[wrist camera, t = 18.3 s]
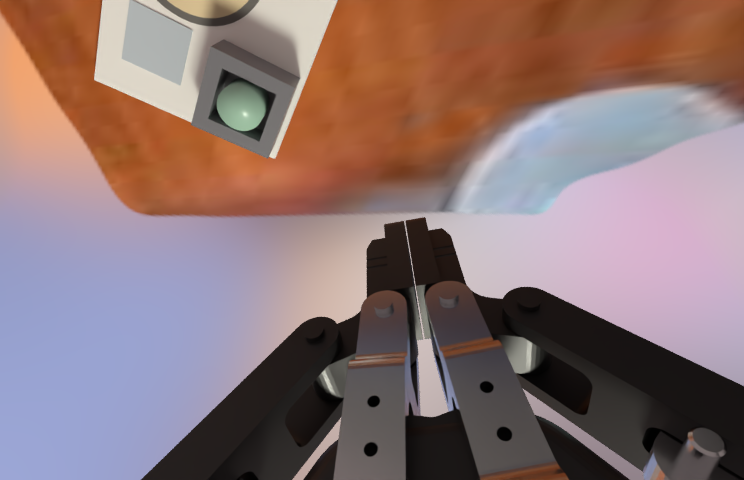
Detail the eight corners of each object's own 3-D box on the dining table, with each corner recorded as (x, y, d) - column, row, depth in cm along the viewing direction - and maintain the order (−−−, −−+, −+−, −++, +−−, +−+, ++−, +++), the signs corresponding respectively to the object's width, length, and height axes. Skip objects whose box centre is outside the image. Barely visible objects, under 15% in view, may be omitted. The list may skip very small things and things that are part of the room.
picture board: (130, -197, 26) (122, -203, 26) (358, -54, 31) (358, -54, 30) (100, 77, 36) (93, 80, 35) (276, 155, 41) (274, 159, 40)
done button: (232, 69, 34) (223, 76, 32) (275, 89, 35) (268, 98, 33) (221, 108, 36) (211, 118, 34) (261, 127, 37) (255, 138, 35)
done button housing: (223, 39, 34) (210, 46, 31) (300, 78, 36) (294, 88, 33) (204, 112, 37) (190, 124, 34) (275, 144, 39) (267, 158, 36)
